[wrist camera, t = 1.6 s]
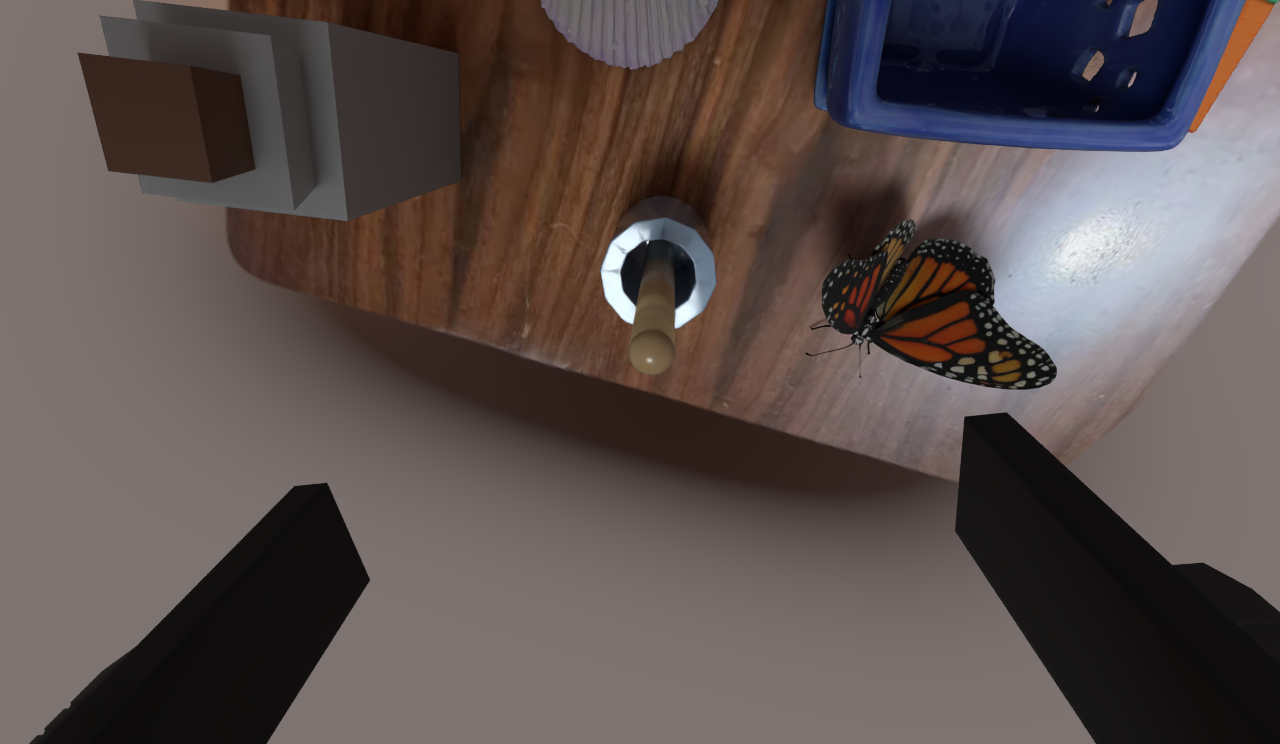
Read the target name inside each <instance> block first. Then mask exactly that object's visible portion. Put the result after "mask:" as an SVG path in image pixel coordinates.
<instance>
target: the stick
mask: <svg viewBox="0 0 1280 744" xmlns="http://www.w3.org/2000/svg"><path fill="white" fill-rule="evenodd" d="M628 354H629V359H630V362H631V363H632V365H633V366H634V367H635V369H636V370H638V371H639V372H641V373H643V374H647V375H657V374H660V373H662V372H664V371H665V370H667V369H668V368H669V366H670V365H671V364H672V362H673V359H674V356H675V261H674V243H671V242H669V241H667V240H664V239H659V240H652V241H649V243H648V246H647V251H646V257H645V262H644V268H643V273H642V278H641V284H640V289H639V295H638V300H637V305H636V311H635V316H634V321H633V327H632V332H631V338H630V343H629V348H628Z"/></svg>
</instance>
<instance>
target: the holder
mask: <svg viewBox="0 0 1280 744" xmlns="http://www.w3.org/2000/svg"><path fill="white" fill-rule="evenodd" d="M659 239H664V240H667V241H669V242H671V243H674V261H675V329H676V328H680V327H682V326H684V325H685V324H686V323H688V322H689V321H691V320H692V319H693V318H695V317H696V316H698V315H699V314H700V313H702V312H703V310H705V308H706V306H707V304H708V302H709V299H710V297H711V295H712V293H713V291H714V289H715V287H716V284H717V282H716V272H715V261H714V254H713V250H712V246H711V242H710V239H709V235H708V231H707V227H706V225H705V224H704V223H703V221H702V219H701V217H700V216H699V214H698V213H697V212H696V211H695V210H694V209H693V208H692V207H691V206H690V205H689V204H687V203H686V202H684V201H682V200H680V199H678V198H675V197H670V196H653V197H649V198H646V199H643V200H641V201H639V202H638V203H636V204H635V205H633V206H632V207H631V208H630V209H629V210H628V211H627V212H626V213H625V214H624V215H623V216H622V218H621V220H620V222H619V224H618V226H617V228H616V230H615V233H614V235H613V237H612V239H611V241H610V244H609V246H608V249H607V252H606V254H605V257H604V260H603V262H602V265H601V268H600V273H601V279H602V284H603V290H604V295H605V298H606V300H607V301H608V303H609V304H610V305H611V306H612V307H613V309H614V310H615V311H616V312H617V313H618V315H619V316H620V317H621V318H622V319H623V320H624V321H625V322H628V323H630V324H633V321H634V316H635V311H636V305H637V300H638V295H639V289H640V284H641V278H642V273H643V268H644V262H645V257H646V251H647V246H648V243H649V241H652V240H659Z"/></svg>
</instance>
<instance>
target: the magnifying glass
mask: <svg viewBox="0 0 1280 744" xmlns="http://www.w3.org/2000/svg"><path fill="white" fill-rule="evenodd" d="M1278 1H1279V0H1246V2H1245V4H1244V6H1243V9H1242V11H1241V13H1240V16H1239V18H1238V20H1237V23H1236V25H1235V27H1234V30H1233V32H1232V35H1231V37H1230V39H1229V42H1228V44H1227V47H1226V49H1225V51H1224V53H1223V56H1222V58H1221V60H1220V63H1219V65H1218V67H1217V70H1216V72H1215V75H1214V77H1213V79H1212V81H1211V83H1210V86H1209V88H1208V90H1207V92H1206V95H1205V97H1204V99H1203V101H1202V104H1201V106H1200V108H1199V110H1198V112H1197V114H1196V116H1195V118H1194V120H1193V122H1192V124H1191V126H1190V128H1189V131H1188V132H1191V133H1194V132H1195V131H1196V130H1197V128H1198V127H1199V125H1200V124H1201V122H1202V121H1203V119H1204V117H1205V116H1206V114H1207V113H1208V111H1209V110H1210V108H1211V106H1212V104H1213V103H1214V102H1215V100H1216V98H1217V96H1218V95H1219V93H1220V92H1221V90H1222V89H1223V87H1224V85H1225V83H1226V82H1227V80H1228V79H1229V77H1230V76H1231V74H1232V72H1233V71H1234V69H1235V68H1236V66H1237V64H1238V63H1239V61H1240V59H1241V58H1242V57H1243V55H1244V53H1245V52H1246V50H1247V48H1248V47H1249V45H1250V44H1251V42H1252V41H1253V39H1254V37H1255V36H1256V34H1257V33H1258V31H1259V30H1260V28H1261V26H1262V24H1263V23H1264V22H1265V20H1266V19H1267V17H1268V15H1269V14H1270V12H1271V10H1272V8H1273V6H1274V4H1275V3H1277V2H1278Z"/></svg>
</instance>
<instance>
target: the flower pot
mask: <svg viewBox="0 0 1280 744" xmlns="http://www.w3.org/2000/svg"><path fill="white" fill-rule="evenodd" d="M1143 1H1144V0H1113V1H1112V2H1111V4H1110V5H1109V6H1108V4H1107V0H827V6H826V12H825V19H824V26H823V32H822V39H821V46H820V53H819V60H818V66H817V73H816V81H815V89H814V105H815V106H816V108H818V109H820V110H824V111H828V112H829V114H830V116H831V117H832V118H833V120H835V121H836V122H837V123H839V124H840V125H842V126H845V127H848V128H852V129H858V130H864V131H869V132H875V133H881V134H888V135H895V136H902V137H911V138H920V139H929V140H940V141H950V142H960V143H970V144H982V145H996V146H1010V147H1023V148H1040V149H1062V150H1084V151H1122V152H1150V151H1164V150H1169V149H1172V148H1174V147H1176V146H1177V145H1178V144H1179V143H1180V142H1181V141H1182V140H1183V138H1184V137H1185V135H1186V134H1187V132H1188V131H1189V128H1190V126H1191V124H1192V122H1193V120H1194V118H1195V116H1196V114H1197V112H1198V110H1199V108H1200V106H1201V104H1202V101H1203V99H1204V97H1205V95H1206V92H1207V90H1208V88H1209V86H1210V83H1211V81H1212V79H1213V77H1214V75H1215V72H1216V70H1217V67H1218V65H1219V63H1220V60H1221V58H1222V56H1223V53H1224V51H1225V49H1226V47H1227V44H1228V42H1229V39H1230V37H1231V35H1232V32H1233V30H1234V27H1235V25H1236V23H1237V20H1238V18H1239V16H1240V13H1241V11H1242V9H1243V6H1244V4H1245V2H1246V0H1158V5H1157V9H1156V12H1155V14H1154V19H1153V21H1152V25H1151V27H1150V29H1149V30H1148V31H1147V32H1145V33H1143V34H1139V35H1135V36H1132V37H1129V33H1130V29H1131V26H1132V22H1133V19H1134V16H1135V13H1136V9H1137V7H1138V5H1139V4H1140V3H1141V2H1143ZM1097 51H1100V52H1101V53H1102V54H1103V56H1104V63H1103V65H1102V67H1101V68H1100V70H1099V71H1098V72H1097V74H1096V75H1095V76H1094V77H1093V78H1092V79H1091V81H1088V80H1087V79H1085V78H1084V77H1083V76H1082V75H1083V72H1084V70H1085V68H1086V66H1087V65H1088V63H1089V61H1090V60H1091V59H1092V57H1093V56H1094V55H1095V54H1096V52H1097ZM1135 72H1136V73H1137V75H1136V78H1135V80H1134V82H1133V84H1132V85H1131V86H1130V87H1128V84H1129V82H1130V80H1131V78H1132V76H1133V74H1134V73H1135ZM1098 105H1099V109H1098V111H1097V112H1095V111H1096V109H1097V107H1098Z"/></svg>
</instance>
